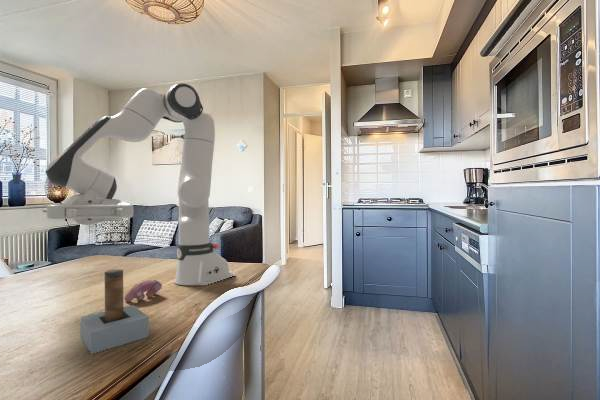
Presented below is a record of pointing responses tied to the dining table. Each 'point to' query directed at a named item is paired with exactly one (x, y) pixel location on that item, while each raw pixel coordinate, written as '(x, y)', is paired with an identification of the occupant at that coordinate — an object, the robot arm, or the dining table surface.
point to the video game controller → (143, 290)
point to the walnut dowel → (113, 295)
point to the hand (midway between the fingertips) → (99, 212)
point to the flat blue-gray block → (113, 329)
